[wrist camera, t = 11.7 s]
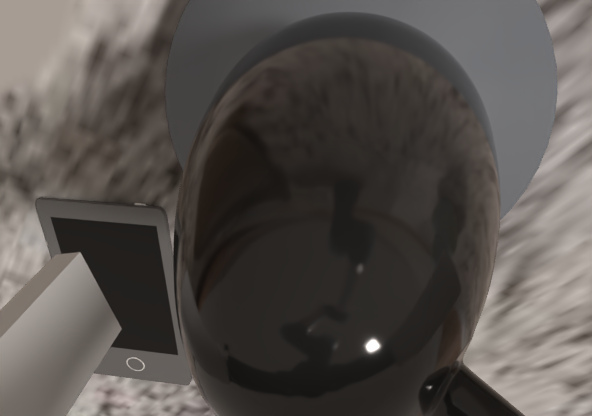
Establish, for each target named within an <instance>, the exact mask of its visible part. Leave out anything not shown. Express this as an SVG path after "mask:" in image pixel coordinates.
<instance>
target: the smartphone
mask: <svg viewBox="0 0 592 416" xmlns="http://www.w3.org/2000/svg"><path fill="white" fill-rule="evenodd" d="M36 209H37V213H38V216H39V219H40V222H41V225H42V228H43V232H44V235H45V238H46V243H47V245H48V248H49V251H50V254H51V257H52V258H53V257H54V256H55V255H57V254H66V253H76V252H80V253H81V254H82V256H83V258H84V260H85V262H86V264H87V265H88V267H89V269H90V271H91V273H92V275H93V277H94V278H95V280H96V282H97V284H98V286H99V288H100V289H101V291H102V293H103V295H104V297H105V299H106V301H107V302H108V304H109V306H110V308H111V310H112V312H113V313H114V315H115V317H116V319H117V321H118V323H119V325H120V326H121V328H122V329H121V331H120V333H119V334H118V336H117V337H116V339H115V340H114V342H113V343H112V345H111V347H110V348H109V350H108V351H107V353H106V354H105V356H104V357H103V359H102V361H101V362H100V364H99V365H98V367H97V368H96V370H95V371H94V373H96V374H103V375H111V376H119V377H126V378H134V379H142V380H149V381H157V382H165V383H172V384H180V385H189V384H190V382H191V379H192V374H191V371H190V368H189V365H188V362H187V359H186V356H185V352H184V348H183V344H182V340H181V336H180V331H179V326H178V320H177V313H176V305H175V294H174V270H173V251H172V245H171V239H170V232H169V226H168V219H167V215H166V212H165V211H164V209H163V208H162V207H159V206H147V205H146V204H142V203H135V205H134V204H121V203H108V202H95V201H82V200H70V199H57V198H44V197H41V198H39V199H38V200H37V201H36Z"/></svg>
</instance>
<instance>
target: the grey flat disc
mask: <svg viewBox="0 0 592 416" xmlns="http://www.w3.org/2000/svg"><path fill="white" fill-rule="evenodd" d="M333 12H365V13H372V14H378V15H382V16H386V17H390V18H393V19H396V20H399V21H402V22H404V23H406V24H409V25H411V26H413V27H415V28H417V29H419V30H421V31H422V32H424V33H426V34H427V35H429V36H430V37H432V38H433V39H434V40H436V41H437V42H438V43H440V44H441V45H442V46H443V47H444V48H445V49H447V50H448V51H449V52H450V53H451V54H452V55H453V56H454V58H455V59H456V60H457V61H458V62H459V63H460V65H461V66H462V67H463V68H464V70H465V71H466V73H467V74H468V75H469V77H470V79H471V80H472V82H473V83H474V85H475V87H476V89H477V91H478V93H479V95H480V97H481V99H482V101H483V104H484V106H485V109H486V112H487V115H488V118H489V121H490V125H491V129H492V133H493V138H494V143H495V148H496V154H497V161H498V168H499V177H500V194H501V211H500V220H501V219H502V218H503V217H504V216H505V215H506V214H507V213H508V212H509V211H510V210H511V209H512V207H513V206H514V205H515V203H516V202H517V201H518V199H519V198H520V197H521V195H522V194H523V193H524V191H525V190H526V189H527V187H528V185H529V183H530V182H531V180H532V178H533V176H534V175H535V173H536V171H537V169H538V167H539V165H540V163H541V160H542V158H543V155H544V153H545V150H546V148H547V146H548V142H549V138H550V135H551V131H552V127H553V123H554V119H555V110H556V101H557V66H556V60H555V55H554V50H553V44H552V39H551V36H550V33H549V30H548V27H547V24H546V22H545V19H544V16H543V13H542V11H541V9H540V7H539V5H538V3H537V1H536V0H190V1H189V3H188V4H187V6H186V8H185V10H184V12H183V14H182V16H181V18H180V21H179V24H178V26H177V29H176V32H175V34H174V37H173V40H172V45H171V49H170V53H169V58H168V62H167V71H166V82H165V100H166V114H167V120H168V126H169V132H170V136H171V140H172V143H173V146H174V150H175V153H176V156H177V158H178V161H179V163H180V165H181V167H182V170H183V171H184V167H185V163H186V160H187V156H188V153H189V150H190V147H191V144H192V141H193V139H194V136H195V134H196V131H197V129H198V127H199V125H200V122H201V120H202V118H203V116H204V114H205V112H206V110H207V108H208V106H209V104H210V102H211V101H212V99H213V97H214V95H215V93H216V92H217V90H218V88H219V87H220V85H221V84H222V82H223V81H224V79H225V78H226V76H227V75H228V74H229V72H230V71H231V70H232V69H233V67H234V66H235V65H236V64H237V63H238V62H239V61H240V60H241V58H242V57H243V56H244V55H245V54H246V53H248V52H249V51H250V50H251V49H252V48H253V47H254V46H255V45H257V44H258V43H259V42H261V41H262V40H263V39H265V38H266V37H267V36H269V35H270V34H272V33H274V32H275V31H277V30H279V29H281V28H283V27H285V26H287V25H289V24H291V23H294V22H296V21H299V20H302V19H305V18H308V17H311V16H316V15H320V14H326V13H333Z"/></svg>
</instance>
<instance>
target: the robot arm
mask: <svg viewBox="0 0 592 416" xmlns="http://www.w3.org/2000/svg"><path fill="white" fill-rule="evenodd" d="M121 329H122V328H121V326H120V325H119V323H118V321H117V319H116V317H115V315H114V313H113V312H112V310H111V308H110V306H109V304H108V302H107V301H106V299H105V297H104V295H103V293H102V291H101V289H100V288H99V286H98V284H97V282H96V280H95V278H94V277H93V275H92V273H91V271H90V269H89V267H88V265H87V264H86V262H85V260H84V258H83V256H82V254H81V253H80V252H76V253H66V254H57V255H55V256H54V257H53V258H52V259H51V260H50V261H49V262H48V263H47V264H46V265H45V266H44V267H43V268H42V269H41V270H40V271H39V272H38V273H37V274H36V275H35V276H34V277H33V278H32V279H31V280H30V281H29V282H28V283H27V284H26V285H25V286H24V287H23V288H22V289H21V290H20V291H19V292H18V293H17V294H16V295H15V296H14V297H13V298H12V299H11V300H10V301H9V302H8V303H7V304H6V305H5V306H4V307H3V308H2V309H1V310H0V416H66V415H67V413H68V412H69V410H70V409H71V407H72V406H73V404H74V403H75V401H76V399H77V398H78V396H79V395H80V393H81V392H82V390H83V389H84V387H85V385H86V384H87V382H88V381H89V379H90V378H91V376H92V375H93V373H94V371H95V370H96V368H97V367H98V365H99V364H100V362H101V361H102V359H103V357H104V356H105V354H106V353H107V351H108V350H109V348H110V347H111V345H112V343H113V342H114V340H115V339H116V337H117V336H118V334H119V333H120V331H121Z"/></svg>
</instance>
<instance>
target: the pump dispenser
mask: <svg viewBox="0 0 592 416" xmlns="http://www.w3.org/2000/svg"><path fill="white" fill-rule="evenodd" d="M500 211H501V194H500V177H499V168H498V161H497V154H496V148H495V143H494V138H493V133H492V129H491V125H490V121H489V118H488V115H487V112H486V109H485V106H484V104H483V101H482V99H481V97H480V95H479V93H478V91H477V89H476V87H475V85H474V83H473V82H472V80H471V79H470V77H469V75H468V74H467V73H466V71H465V70H464V68H463V67H462V66H461V65H460V63H459V62H458V61H457V60H456V59H455V58H454V56H453V55H452V54H451V53H450V52H449V51H448V50H447V49H445V48H444V47H443V46H442V45H441V44H440V43H438V42H437V41H436V40H434V39H433V38H432V37H430V36H429V35H427V34H426V33H424V32H422V31H421V30H419V29H417V28H415V27H413V26H411V25H409V24H406V23H404V22H402V21H399V20H396V19H393V18H390V17H386V16H382V15H378V14H372V13H365V12H333V13H326V14H320V15H316V16H311V17H308V18H305V19H302V20H299V21H296V22H294V23H291V24H289V25H287V26H285V27H283V28H281V29H279V30H277V31H275V32H274V33H272V34H270V35H269V36H267V37H266V38H265V39H263V40H262V41H261V42H259V43H258V44H257V45H255V46H254V47H253V48H252V49H251V50H250V51H249V52H248V53H246V54H245V55H244V56H243V57H242V58H241V60H240V61H239V62H238V63H237V64H236V65H235V66H234V67H233V69H232V70H231V71H230V72H229V74H228V75H227V76H226V78H225V79H224V81H223V82H222V84H221V85H220V87H219V88H218V90H217V92H216V93H215V95H214V97H213V99H212V101H211V102H210V104H209V106H208V108H207V110H206V112H205V114H204V116H203V118H202V120H201V122H200V125H199V127H198V129H197V131H196V134H195V136H194V139H193V141H192V144H191V147H190V150H189V153H188V156H187V160H186V163H185V167H184V171H183V175H182V179H181V184H180V189H179V195H178V201H177V209H176V218H175V230H174V252H173V270H174V294H175V305H176V313H177V320H178V326H179V331H180V336H181V340H182V344H183V348H184V352H185V356H186V359H187V362H188V365H189V368H190V371H191V374H192V376H193V379H194V381H195V383H196V386H197V388H198V390H199V392H200V393H201V395H202V397H203V399H204V400H205V402H206V403H207V405H208V406H209V408H210V409H211V411H212V412H213V413H214V414H215V416H525V415H523V414H522V413H521V412H520V411H519V410H517V409H516V408H515V407H514V406H513V405H511V404H510V403H509V402H508V401H507V400H505V399H504V398H503V397H502V396H501V395H499V394H498V393H497V392H496V391H495V390H493V389H492V388H491V387H490V386H489V385H488V384H486V383H485V382H484V381H483V380H482V379H480V378H479V377H478V376H477V375H476V374H474V373H473V372H472V371H471V370H470V369H469V368H468V367H467V366H465V365H464V363H463V357H464V354H465V352H466V350H467V348H468V346H469V344H470V342H471V339H472V337H473V334H474V331H475V328H476V326H477V323H478V321H479V318H480V316H481V313H482V310H483V307H484V304H485V301H486V298H487V294H488V291H489V287H490V283H491V279H492V274H493V270H494V265H495V259H496V253H497V246H498V239H499V228H500Z"/></svg>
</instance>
